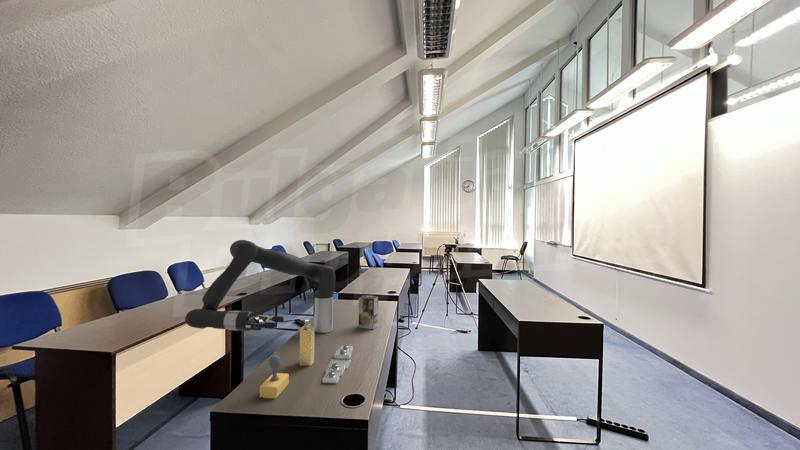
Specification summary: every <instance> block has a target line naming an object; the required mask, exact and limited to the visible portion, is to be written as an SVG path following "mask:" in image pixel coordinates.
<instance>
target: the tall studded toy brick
mask: <svg viewBox="0 0 800 450" xmlns="http://www.w3.org/2000/svg"><path fill="white" fill-rule="evenodd" d="M315 339H316V337H315V327H314V326H311V323H306V324H305V325H303V326H302V327H301V328H300V329H299V366H306V367H310V366H312V365H313V363H314V362H315Z"/></svg>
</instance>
